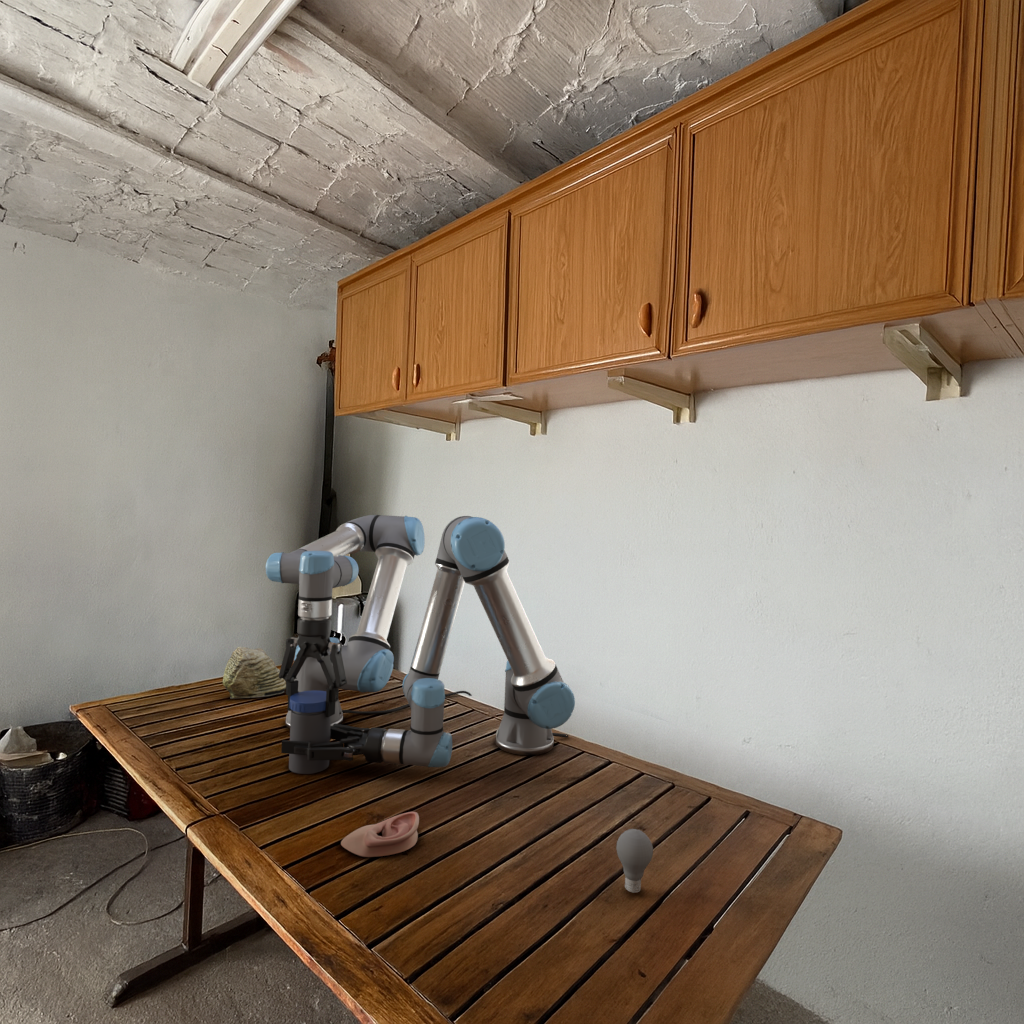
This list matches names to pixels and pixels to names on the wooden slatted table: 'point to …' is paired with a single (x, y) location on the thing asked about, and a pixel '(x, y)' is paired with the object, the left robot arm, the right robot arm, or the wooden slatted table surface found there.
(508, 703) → the right robot arm
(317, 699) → the lid
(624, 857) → the light bulb
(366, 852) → the anatomical model
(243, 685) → the fossil
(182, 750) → the wooden slatted table surface
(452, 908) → the wooden slatted table surface
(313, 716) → the jar
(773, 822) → the wooden slatted table surface
